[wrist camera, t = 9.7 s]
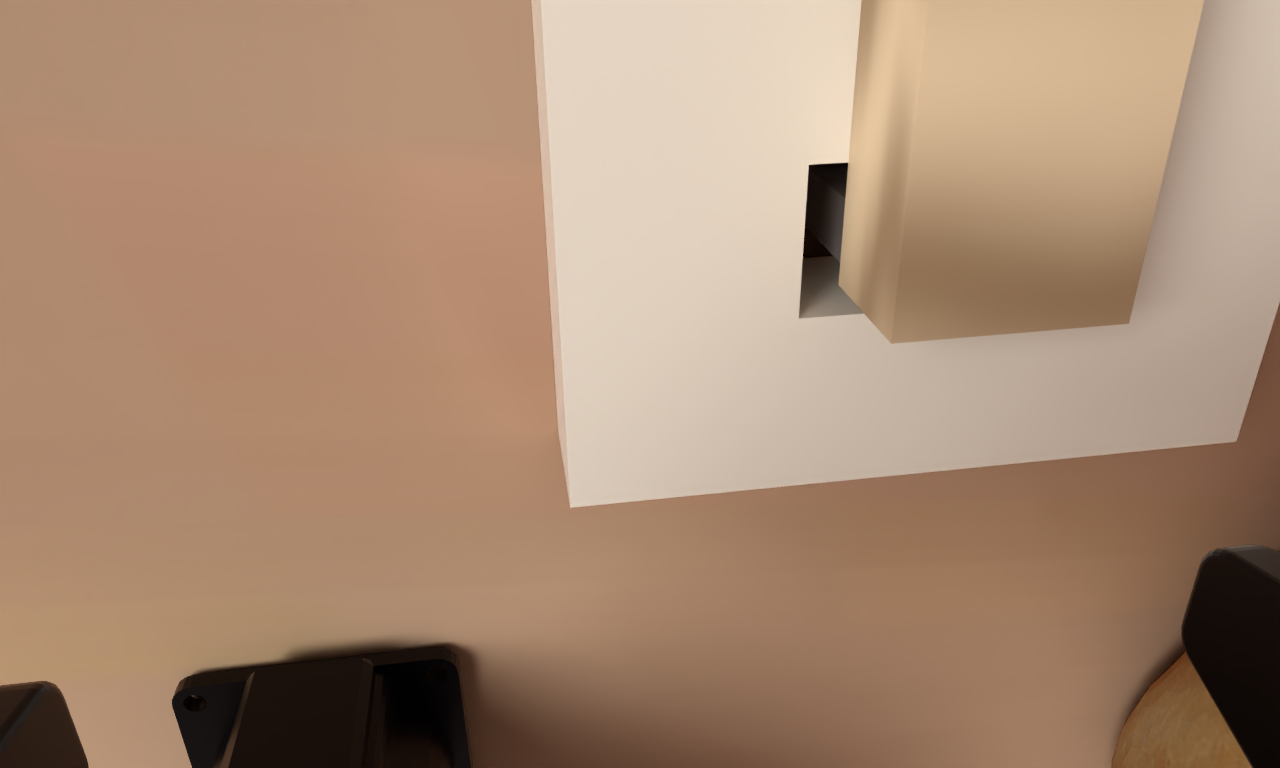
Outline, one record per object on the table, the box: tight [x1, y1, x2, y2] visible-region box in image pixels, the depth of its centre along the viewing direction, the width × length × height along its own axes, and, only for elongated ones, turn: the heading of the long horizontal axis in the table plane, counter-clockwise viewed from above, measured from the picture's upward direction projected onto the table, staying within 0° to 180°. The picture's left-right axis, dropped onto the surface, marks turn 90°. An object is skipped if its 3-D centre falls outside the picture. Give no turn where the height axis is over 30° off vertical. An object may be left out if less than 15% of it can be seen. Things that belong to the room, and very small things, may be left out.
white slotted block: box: [532, 0, 1280, 508], centre depth 19 cm, size 10×14×3 cm
